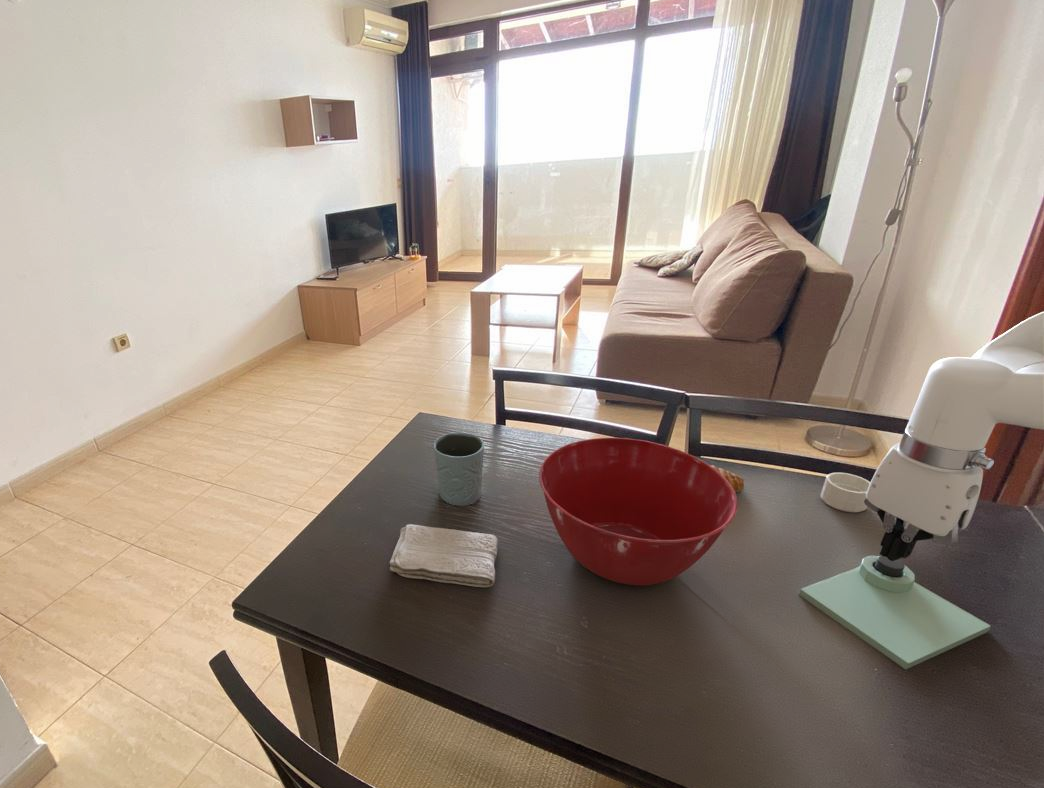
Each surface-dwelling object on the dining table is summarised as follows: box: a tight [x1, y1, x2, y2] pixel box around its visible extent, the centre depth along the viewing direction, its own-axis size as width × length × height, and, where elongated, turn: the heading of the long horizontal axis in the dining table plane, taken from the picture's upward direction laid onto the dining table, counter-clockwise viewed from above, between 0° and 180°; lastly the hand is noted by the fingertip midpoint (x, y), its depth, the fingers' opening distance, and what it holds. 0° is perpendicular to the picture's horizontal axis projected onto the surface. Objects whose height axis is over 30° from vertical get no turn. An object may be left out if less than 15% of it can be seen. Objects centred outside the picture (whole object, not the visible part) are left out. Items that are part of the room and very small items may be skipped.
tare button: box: [874, 555, 906, 578], centre depth 81 cm, size 3×3×2 cm
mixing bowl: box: [538, 437, 739, 586], centre depth 89 cm, size 28×28×16 cm
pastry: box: [710, 464, 745, 493], centre depth 107 cm, size 9×7×4 cm
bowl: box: [820, 472, 871, 513], centre depth 99 cm, size 7×7×5 cm
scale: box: [798, 555, 992, 670], centre depth 77 cm, size 16×14×3 cm
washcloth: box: [389, 523, 499, 588], centre depth 94 cm, size 12×18×3 cm, turn 75°
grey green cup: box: [433, 432, 485, 506], centre depth 110 cm, size 10×10×12 cm
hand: (892, 555), depth 80 cm, fingers closed
